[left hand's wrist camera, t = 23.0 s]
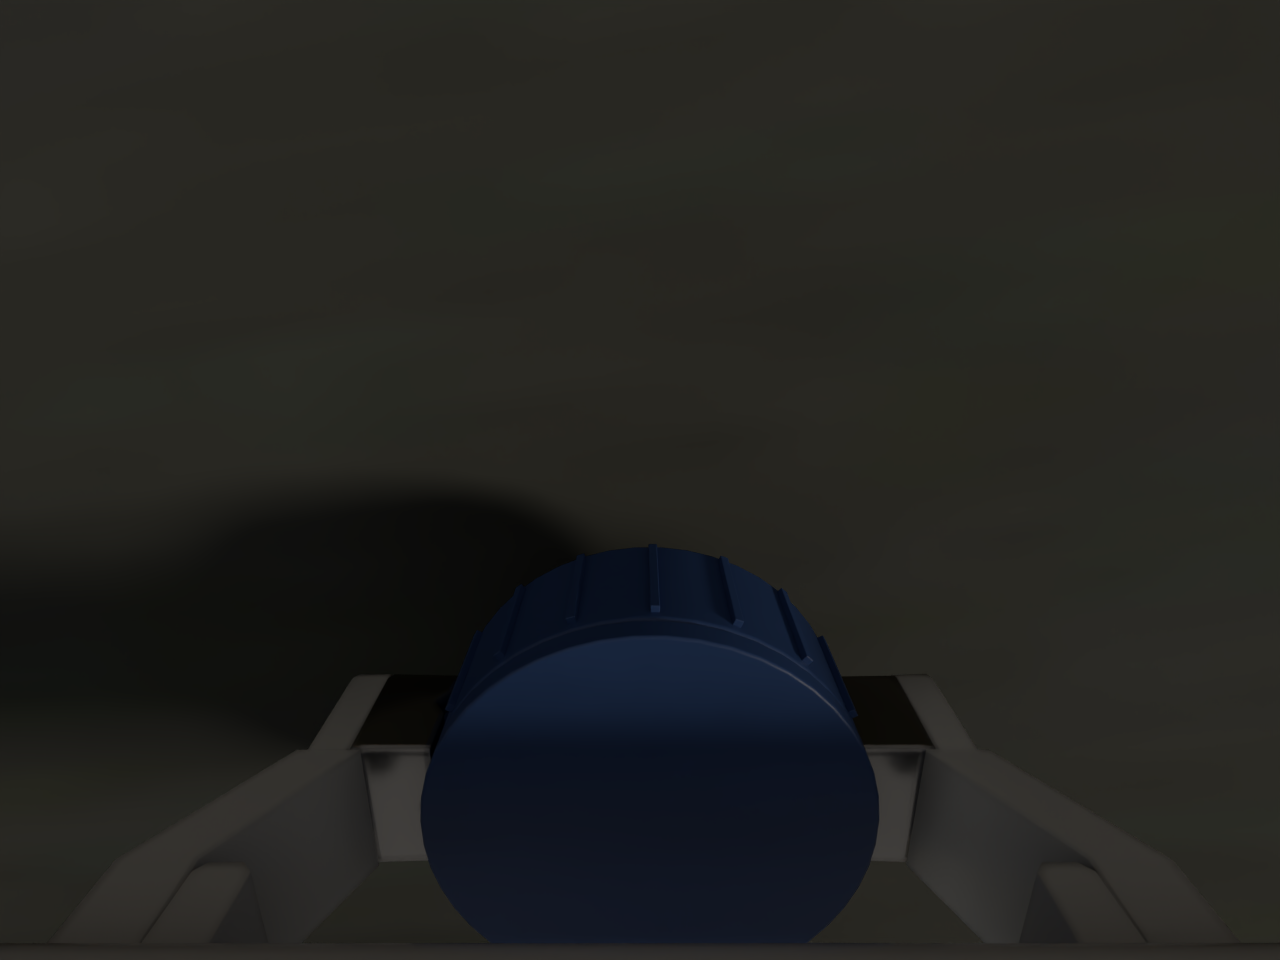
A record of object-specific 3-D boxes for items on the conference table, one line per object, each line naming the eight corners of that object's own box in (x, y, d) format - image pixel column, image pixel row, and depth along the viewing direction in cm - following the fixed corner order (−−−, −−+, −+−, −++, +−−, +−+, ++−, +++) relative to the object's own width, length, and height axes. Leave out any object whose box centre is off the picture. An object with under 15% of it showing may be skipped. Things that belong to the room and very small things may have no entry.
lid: (384, 728, 11) (322, 854, 9) (629, 459, 9) (626, 531, 7) (661, 907, 12) (665, 1053, 10) (916, 695, 10) (985, 815, 8)
